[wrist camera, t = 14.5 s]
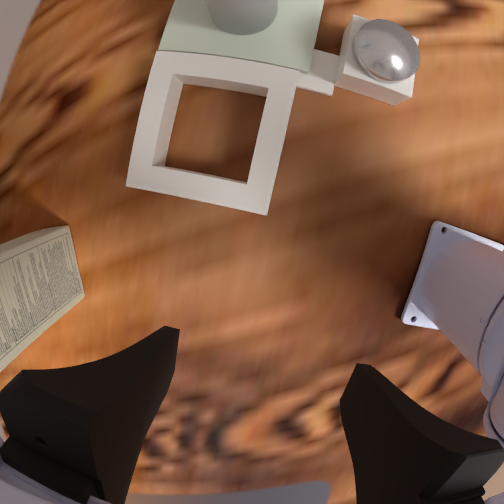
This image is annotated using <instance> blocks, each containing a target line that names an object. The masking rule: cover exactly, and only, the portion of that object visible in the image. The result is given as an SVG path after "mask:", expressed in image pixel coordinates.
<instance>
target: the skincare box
mask: <svg viewBox="0 0 504 504" xmlns="http://www.w3.org/2000/svg"><path fill="white" fill-rule="evenodd" d="M84 297H85V294H84V290H83V286H82V281H81V277H80V273H79V269H78V264H77V260H76V255H75V250H74V246H73V241H72V237H71V232H70V228H69V226H68V225H65V226H58V227H52V228H46V229H42V230H38V231H34V232H31V233H28V234H26V235H23V236H20V237H18V238H15V239H13V240H10V241H8V242H5V243H3V244H0V372H1V371H2V370H3V369H4V368H5V367H6V366H7V365H8V364H9V363H10V362H11V361H12V360H13V359H14V358H15V357H16V356H18V355H19V354H20V353H21V352H22V351H23V350H24V349H25V348H26V347H27V346H29V345H30V344H31V343H32V342H33V341H34V340H35V339H36V338H38V337H39V336H40V335H41V334H42V333H43V332H44V331H45V330H47V329H48V328H49V327H50V326H51V325H52V324H54V323H55V322H56V321H57V320H58V319H59V318H61V317H62V316H63V315H64V314H65V313H66V312H68V311H69V310H70V309H71V308H72V307H73V306H75V305H76V304H77V303H78V302H79V301H81V300H82V299H83V298H84Z"/></svg>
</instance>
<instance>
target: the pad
mask: <svg viewBox="0 0 504 504" xmlns="http://www.w3.org/2000/svg"><path fill="white" fill-rule="evenodd" d="M323 3H324V0H278V12H277V16H276V18H275V20H274V21H273V23H272V24H271V25H270V26H269V27H267V28H266V29H264V30H263V31H260V32H258V33H255V34H251V35H234V34H230V33H227V32H225V31H223V30H221V29H220V28H219V27H218V26H217V25H216V24H215V23H214V21H213V19H212V17H211V14H210V12H209V10H208V7H207V5H206V3H205V0H175V1H174V4H173V7H172V9H171V12H170V15H169V18H168V21H167V24H166V27H165V30H164V33H163V36H162V39H161V42H160V45H159V48H158V50H159V51H170V52H184V53H195V54H205V55H214V56H222V57H229V58H236V59H242V60H248V61H254V62H260V63H265V64H270V65H275V66H280V67H285V68H289V69H294V70H298V71H300V72H299V73H304V74H308V73H309V69H310V65H311V60H312V56H313V51H314V46H315V42H316V37H317V32H318V27H319V23H320V18H321V13H322V8H323Z"/></svg>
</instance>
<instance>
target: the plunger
mask: <svg viewBox="0 0 504 504" xmlns="http://www.w3.org/2000/svg"><path fill="white" fill-rule="evenodd" d="M352 52H353V56H354V58H355V61H356V62H357V64H358V66H359V67H360V68H361V69H362V70H363V71H364V72H365V73H366V74H367V75H368V76H370V77H371V78H373V79H375V80H377V81H379V82H382V83H387V84H396V83H400V82H402V81H404V80H406V79H407V78H409V77H411V76H412V75H413V74H414V73H415V72H416V71H417V69H418V67H419V65H420V51H419V48H418V45H417V43H416V41H415V40H414V38H413V37H412V36H411V35H410V33H409V32H408V31H406V30H405V29H404V28H403V27H401V26H400V25H398V24H396V23H394V22H391V21H388V20H382V19H376V20H371V21H368V22H366V23H365V24H363V25H362V26H361V27H360V29H359V30H358V32H357V33H356V35H355V36H354V39H353V42H352Z"/></svg>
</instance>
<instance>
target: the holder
mask: <svg viewBox="0 0 504 504" xmlns="http://www.w3.org/2000/svg"><path fill="white" fill-rule="evenodd" d="M368 21H371V20H369V19H366V18H363V17H360V16H357V15H353V16H352V18H351V20H350V22H349V23H348V25H347V27H346V29H345V31H344V33H343V38H342V44H341V49H340V54H339V56H338V55H334V54H331V53H327V52H323V51H320V50H316V49H314V51H313V56H312V60H311V65H310V69H309V73H308V74H304V73H299V72H300V71H298V70H294V69H289V68H285V67H280V66H275V65H270V64H265V63H260V62H254V61H248V60H242V59H236V58H229V57H222V56H214V55H205V54H195V53H184V52H170V51H156V54H155V57H154V61H153V64H152V68H151V71H150V75H149V79H148V82H147V86H146V90H145V94H144V98H143V102H142V106H141V110H140V114H139V119H138V123H137V128H136V133H135V137H134V142H133V147H132V152H131V158H130V163H129V169H128V175H127V181H126V186H127V187H132V188H137V189H142V190H148V191H153V192H158V193H163V194H168V195H173V196H178V197H183V198H188V199H193V200H197V201H202V202H207V203H212V204H216V205H221V206H226V207H230V208H235V209H239V210H244V211H248V212H253V213H257V214H262V215H266V216H267V213H268V208H269V204H270V200H271V195H272V191H273V187H274V182H275V178H276V174H277V169H278V165H279V161H280V156H281V152H282V148H283V143H284V139H285V134H286V130H287V126H288V121H289V117H290V112H291V108H292V103H293V99H294V95H295V90H296V88H300V89H304V90H308V91H312V92H316V93H320V94H323V95H327V96H330V97H331V96H332V94H333V89H334V86H335V87H339V88H342V89H345V90H349V91H352V92H355V93H358V94H361V95H364V96H367V97H370V98H373V99H376V100H379V101H382V102H385V103H387V104H390V105H393V106H395V105H397V104H399V103H401V102H403V101H406V100H408V99H410V98H412V92H413V85H414V78H415V73H414V74H413V75H412V76H411V77H409V78H407V79H406V80H404V81H402V82H400V83H396V84H387V83H382V82H379V81H377V80H375V79H373V78H371V77H370V76H368V75H367V74H366V73H365V72H364V71H363V70H362V69H361V68H360V67H359V66H358V64H357V62H356V61H355V58H354V56H353V52H352V42H353V39H354V36H355V35H356V33H357V32H358V30H359V29H360V27H361V26H362V25H363V24H365V23H366V22H368ZM412 37H413V36H412ZM413 38H414V40H415V41H416V43H417V45H418V41H419V39H418V38H415V37H413ZM183 84H189V85H198V86H205V87H212V88H219V89H225V90H232V91H237V92H243V93H249V94H254V95H259V96H264V97H267V98H266V102H265V106H264V111H263V115H262V119H261V124H260V128H259V132H258V137H257V141H256V145H255V150H254V154H253V159H252V163H251V168H250V172H249V177H248V181H247V182H244V181H239V180H234V179H230V178H225V177H220V176H215V175H210V174H205V173H200V172H195V171H189V170H184V169H178V168H173V167H167V166H165V162H166V157H167V152H168V147H169V143H170V138H171V133H172V129H173V124H174V120H175V116H176V111H177V107H178V103H179V99H180V95H181V91H182V87H183Z"/></svg>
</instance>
